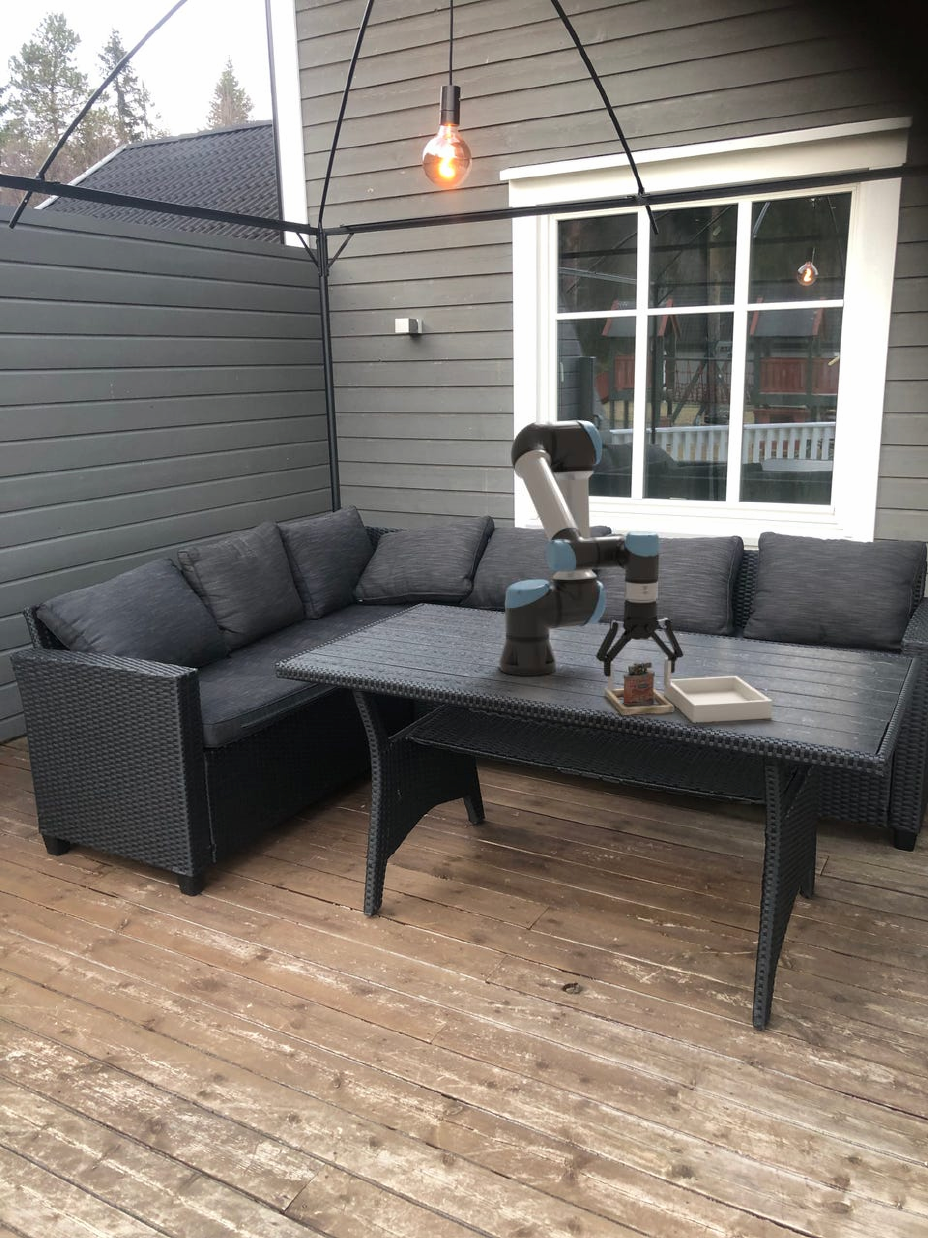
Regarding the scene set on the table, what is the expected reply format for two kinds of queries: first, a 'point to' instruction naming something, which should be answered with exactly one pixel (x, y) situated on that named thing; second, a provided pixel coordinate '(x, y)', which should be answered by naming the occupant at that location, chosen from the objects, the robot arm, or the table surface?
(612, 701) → the holder
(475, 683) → the table surface
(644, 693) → the lighter
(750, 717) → the tray
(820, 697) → the table surface
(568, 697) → the table surface
